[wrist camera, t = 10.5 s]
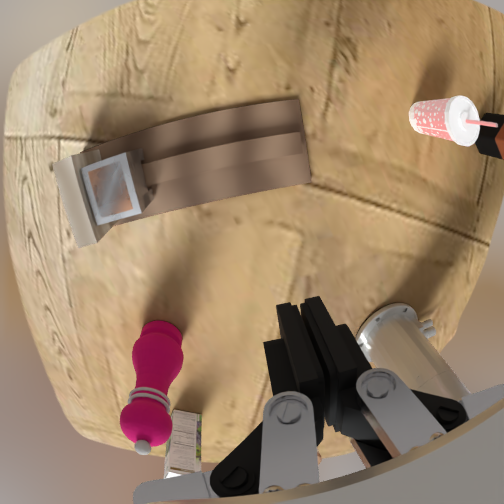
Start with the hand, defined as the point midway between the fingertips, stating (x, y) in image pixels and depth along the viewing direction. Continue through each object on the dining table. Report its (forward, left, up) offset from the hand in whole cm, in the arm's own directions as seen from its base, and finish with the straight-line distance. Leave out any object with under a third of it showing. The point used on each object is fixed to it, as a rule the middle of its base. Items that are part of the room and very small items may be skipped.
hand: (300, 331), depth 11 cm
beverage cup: (-26, -7, -25) cm, 37 cm away
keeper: (+13, -5, -24) cm, 27 cm away
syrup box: (+20, +40, -25) cm, 51 cm away
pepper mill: (+16, +18, -25) cm, 35 cm away
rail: (+5, -5, -25) cm, 26 cm away
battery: (-41, -5, -25) cm, 48 cm away
